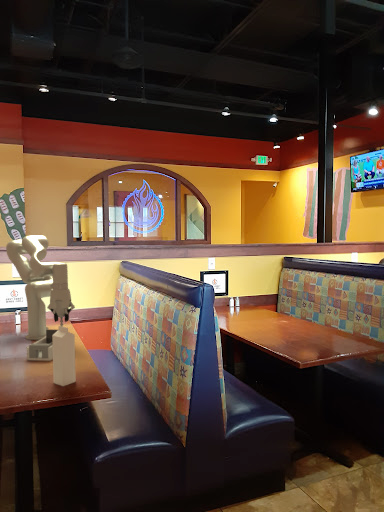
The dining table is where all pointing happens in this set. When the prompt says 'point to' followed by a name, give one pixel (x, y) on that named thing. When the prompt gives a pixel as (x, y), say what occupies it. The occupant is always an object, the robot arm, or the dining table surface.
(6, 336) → the dining table surface
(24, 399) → the dining table surface
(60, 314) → the chalice
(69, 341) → the milk
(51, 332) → the pusher
